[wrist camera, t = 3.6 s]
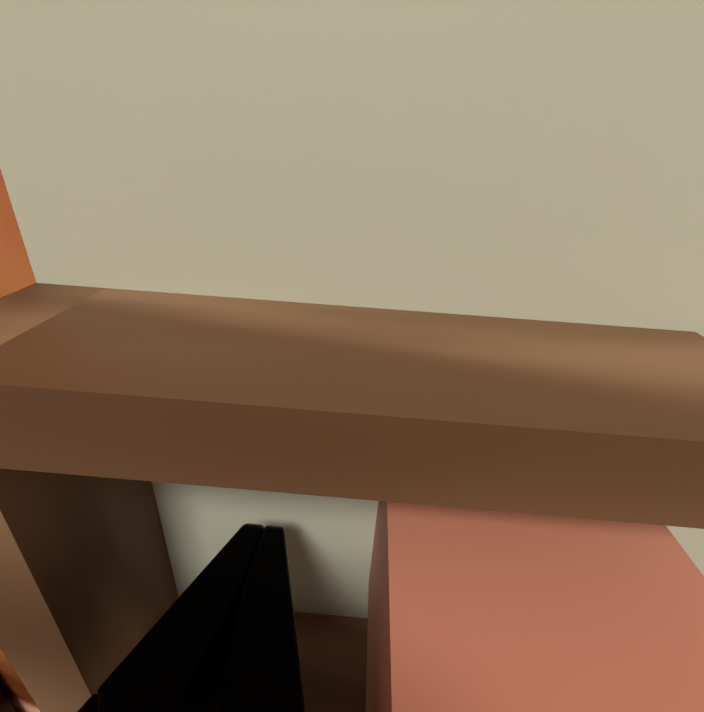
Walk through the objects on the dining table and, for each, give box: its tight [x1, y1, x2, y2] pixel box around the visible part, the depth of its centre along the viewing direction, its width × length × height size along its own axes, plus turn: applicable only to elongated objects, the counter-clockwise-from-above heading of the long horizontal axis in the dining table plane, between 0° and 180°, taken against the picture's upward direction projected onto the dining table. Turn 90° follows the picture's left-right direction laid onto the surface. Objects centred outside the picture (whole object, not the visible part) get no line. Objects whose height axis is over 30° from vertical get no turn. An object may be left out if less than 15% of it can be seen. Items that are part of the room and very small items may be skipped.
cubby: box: [0, 283, 704, 712], centre depth 8 cm, size 10×11×3 cm
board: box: [0, 0, 704, 618], centre depth 9 cm, size 19×26×1 cm
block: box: [366, 501, 704, 712], centre depth 7 cm, size 4×4×4 cm
